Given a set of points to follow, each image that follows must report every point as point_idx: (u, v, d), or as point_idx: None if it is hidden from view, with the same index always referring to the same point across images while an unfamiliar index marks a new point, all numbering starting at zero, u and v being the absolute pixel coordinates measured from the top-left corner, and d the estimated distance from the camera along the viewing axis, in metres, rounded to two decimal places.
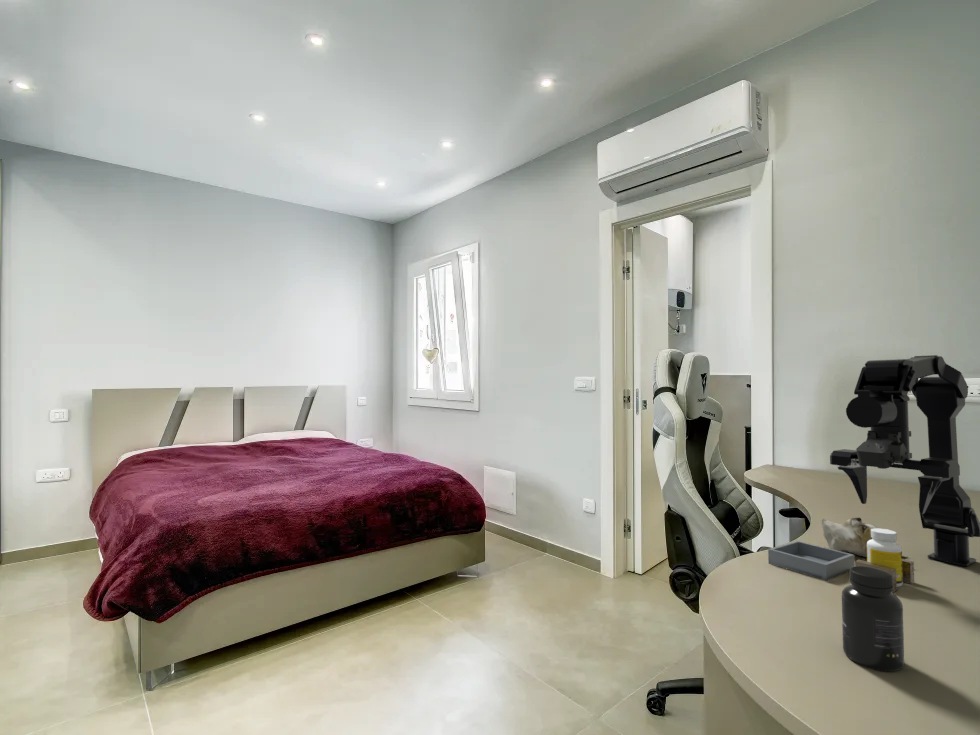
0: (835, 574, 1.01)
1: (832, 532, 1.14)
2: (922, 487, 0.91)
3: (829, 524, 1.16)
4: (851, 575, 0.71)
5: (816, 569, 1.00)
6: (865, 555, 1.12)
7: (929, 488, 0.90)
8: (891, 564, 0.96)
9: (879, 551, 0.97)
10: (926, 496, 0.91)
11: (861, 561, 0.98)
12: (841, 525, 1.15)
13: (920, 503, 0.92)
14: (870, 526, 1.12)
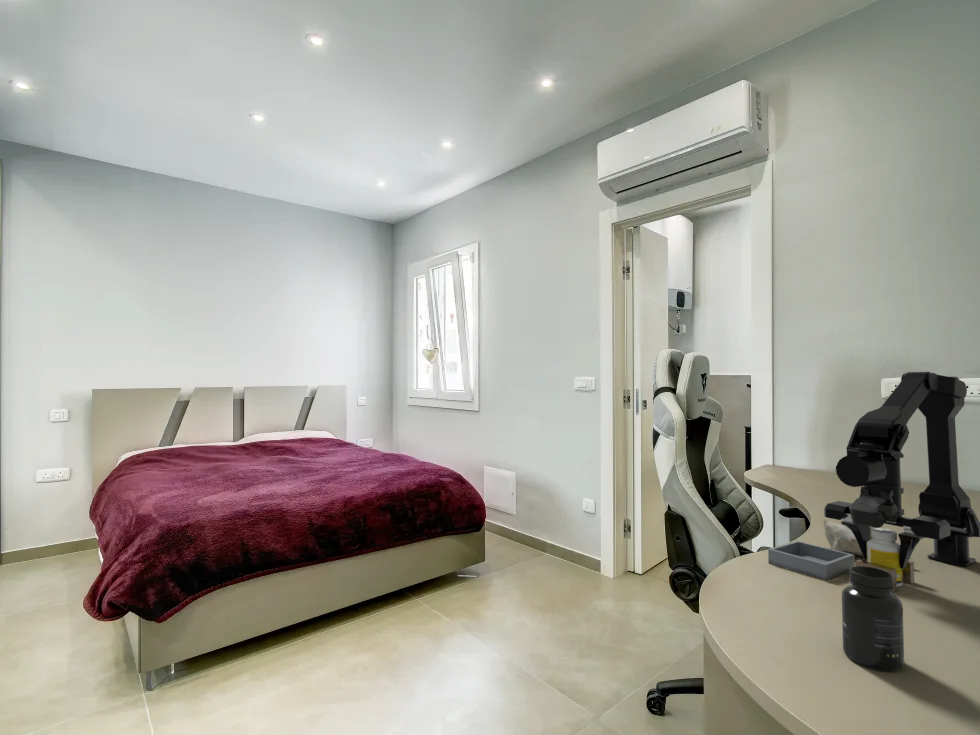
0: (835, 574, 1.01)
1: (834, 533, 1.14)
2: (902, 543, 0.94)
3: (831, 525, 1.15)
4: (851, 575, 0.71)
5: (816, 569, 1.00)
6: None
7: (909, 545, 0.94)
8: (891, 564, 0.96)
9: (879, 550, 0.97)
10: (906, 552, 0.94)
11: (861, 561, 0.98)
12: (843, 526, 1.15)
13: (900, 558, 0.95)
14: (872, 527, 1.12)
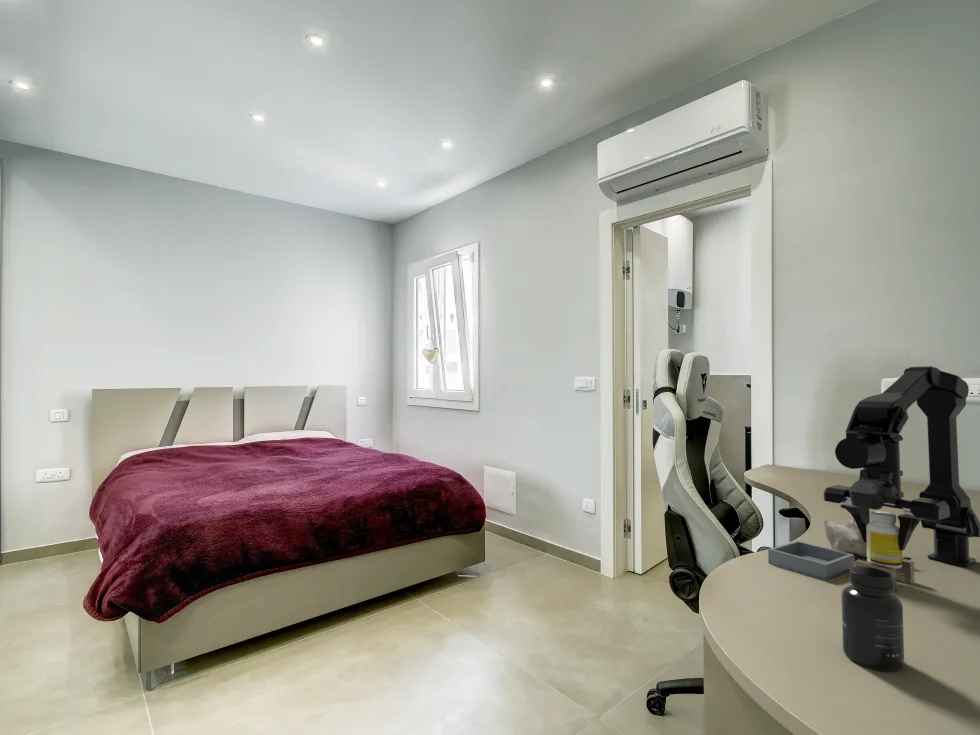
0: (835, 574, 1.01)
1: (835, 533, 1.13)
2: (902, 525, 0.95)
3: (832, 525, 1.15)
4: (851, 575, 0.71)
5: (816, 569, 1.00)
6: None
7: (908, 527, 0.94)
8: (890, 547, 0.96)
9: (878, 533, 0.97)
10: (905, 534, 0.94)
11: (861, 561, 0.98)
12: (844, 526, 1.14)
13: (900, 540, 0.95)
14: None
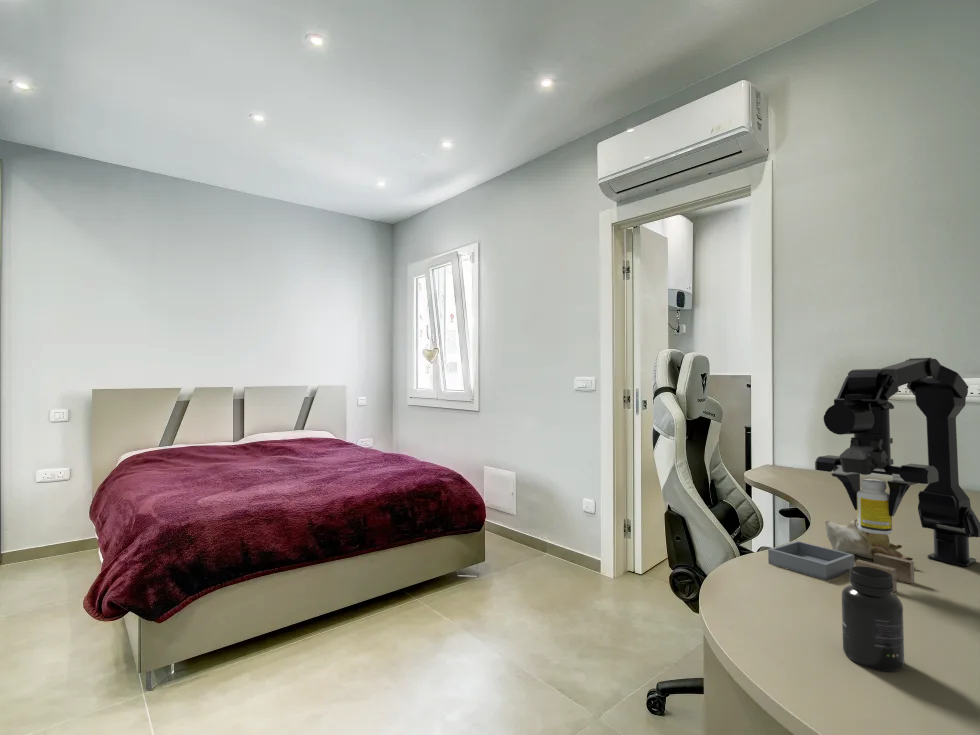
0: (835, 574, 1.01)
1: (836, 534, 1.13)
2: (891, 491, 0.96)
3: (834, 525, 1.14)
4: (851, 575, 0.71)
5: (816, 569, 1.00)
6: (870, 557, 1.11)
7: (898, 492, 0.95)
8: (880, 512, 0.97)
9: (869, 499, 0.98)
10: (895, 499, 0.96)
11: (861, 561, 0.98)
12: (845, 526, 1.14)
13: (890, 506, 0.96)
14: None
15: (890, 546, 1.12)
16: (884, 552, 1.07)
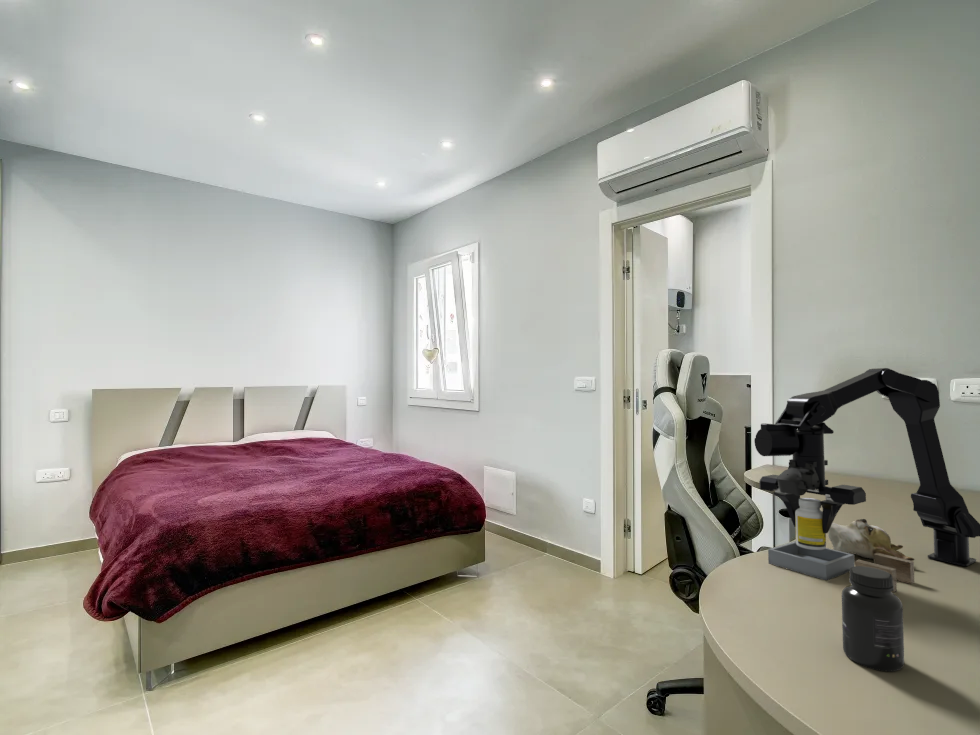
0: (835, 574, 1.01)
1: (838, 534, 1.13)
2: (824, 510, 1.03)
3: (835, 526, 1.14)
4: (851, 575, 0.71)
5: (816, 569, 1.00)
6: (871, 557, 1.10)
7: (829, 511, 1.02)
8: (814, 530, 1.04)
9: (804, 517, 1.05)
10: (827, 518, 1.03)
11: (861, 561, 0.98)
12: (846, 527, 1.14)
13: (823, 524, 1.04)
14: (876, 527, 1.11)
15: (891, 546, 1.12)
16: (886, 552, 1.07)
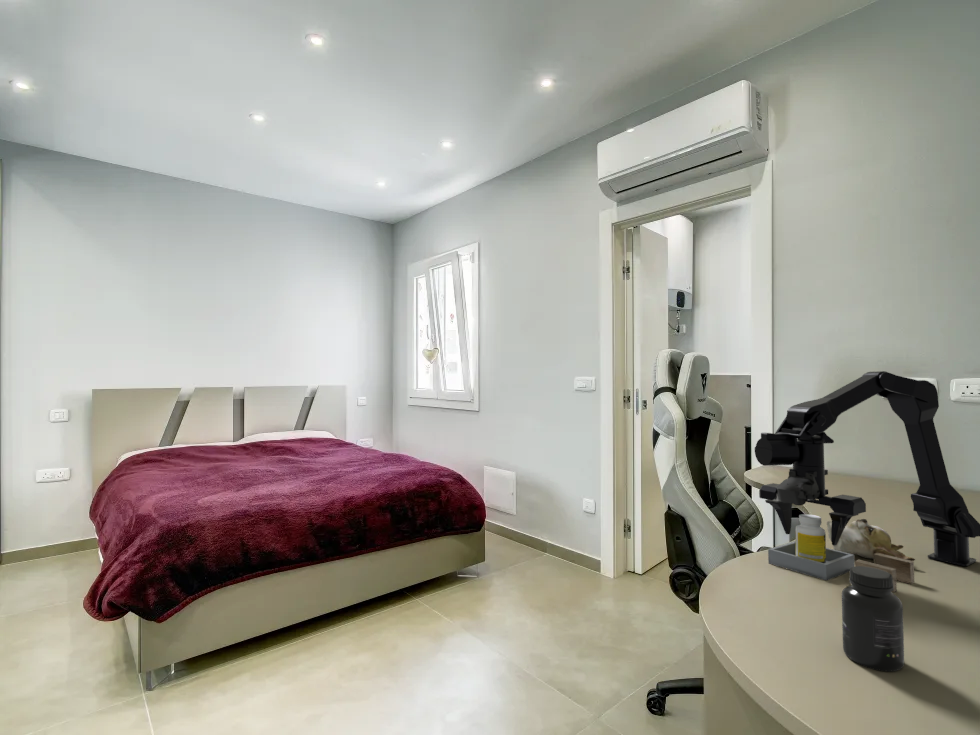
0: (835, 574, 1.01)
1: None
2: (833, 522, 1.02)
3: None
4: (851, 575, 0.71)
5: (816, 569, 1.00)
6: (872, 557, 1.10)
7: (839, 523, 1.01)
8: (815, 547, 1.04)
9: (805, 534, 1.05)
10: (837, 530, 1.02)
11: (861, 561, 0.98)
12: (847, 527, 1.14)
13: (832, 536, 1.02)
14: (876, 528, 1.11)
15: (892, 546, 1.12)
16: (886, 552, 1.07)
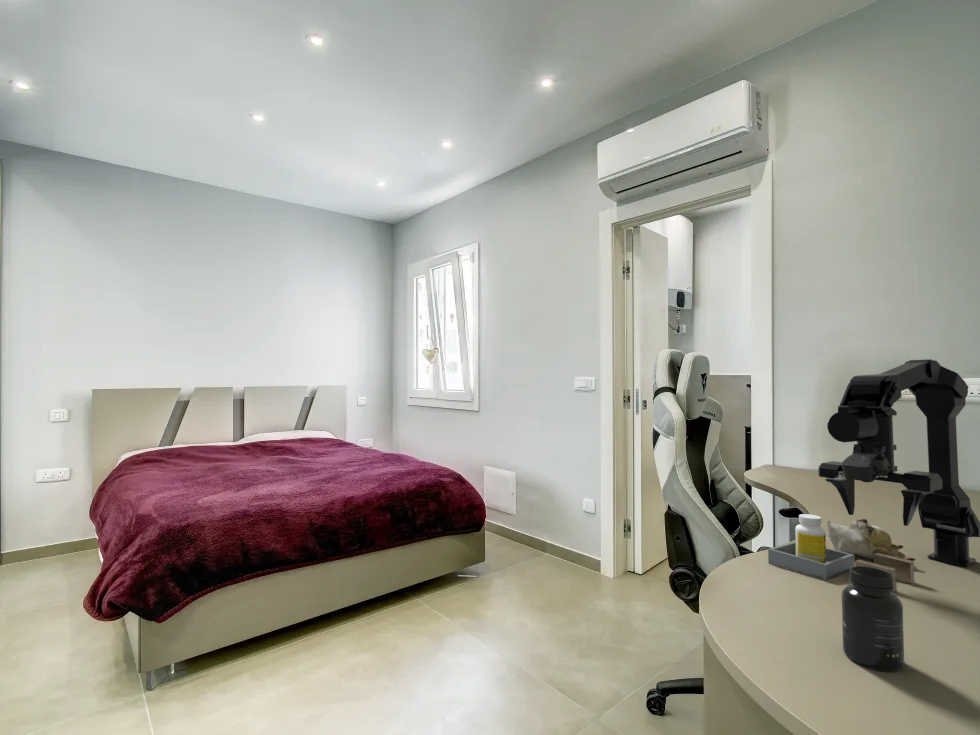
0: (835, 574, 1.01)
1: (839, 535, 1.13)
2: (905, 500, 0.94)
3: (835, 526, 1.14)
4: (851, 575, 0.71)
5: (816, 569, 1.00)
6: (872, 557, 1.10)
7: (912, 501, 0.93)
8: (815, 547, 1.04)
9: (805, 534, 1.05)
10: (909, 509, 0.94)
11: (861, 561, 0.98)
12: (847, 527, 1.14)
13: (904, 515, 0.94)
14: (876, 528, 1.11)
15: (892, 546, 1.12)
16: (887, 553, 1.07)
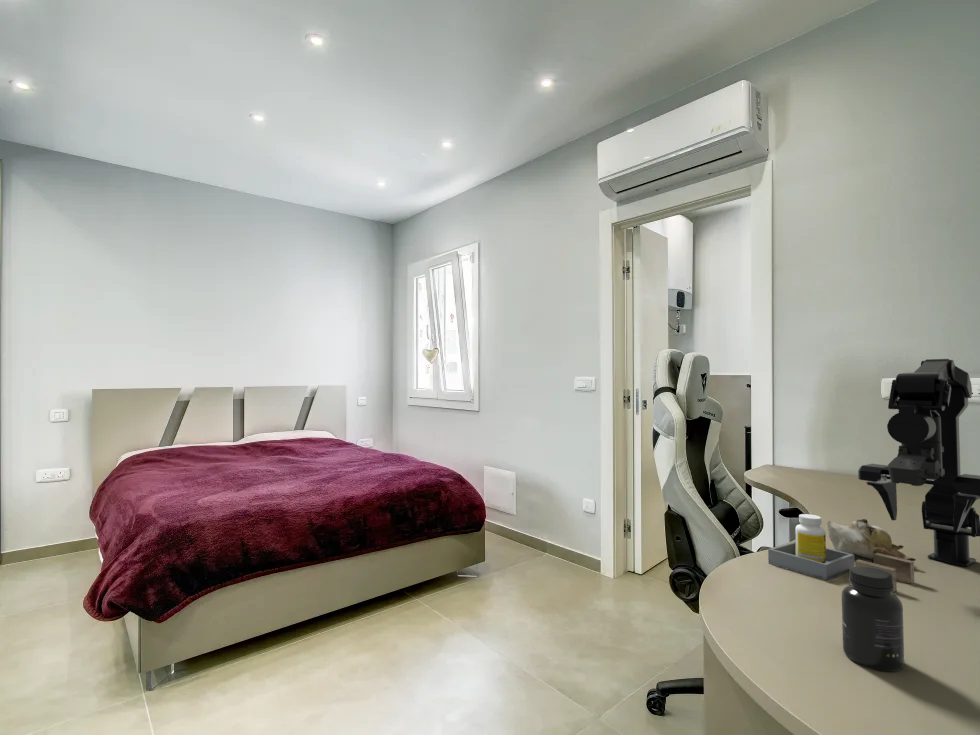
0: (835, 574, 1.01)
1: (839, 535, 1.12)
2: (957, 505, 0.89)
3: (836, 526, 1.14)
4: (851, 575, 0.71)
5: (816, 569, 1.00)
6: (872, 557, 1.10)
7: (964, 506, 0.88)
8: (815, 547, 1.04)
9: (805, 534, 1.05)
10: (961, 514, 0.89)
11: (861, 561, 0.98)
12: (847, 527, 1.14)
13: (954, 521, 0.89)
14: (877, 528, 1.11)
15: (892, 546, 1.12)
16: (887, 553, 1.07)
